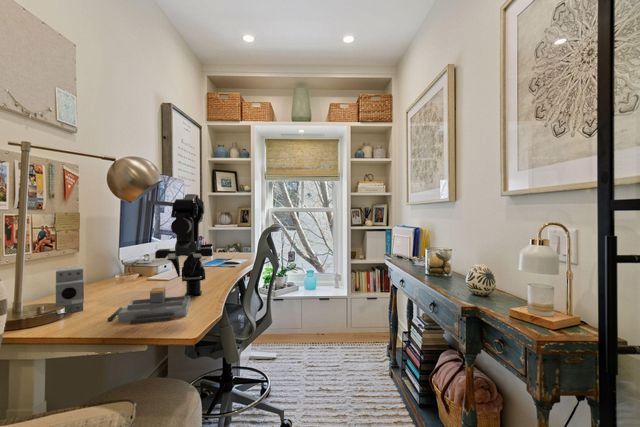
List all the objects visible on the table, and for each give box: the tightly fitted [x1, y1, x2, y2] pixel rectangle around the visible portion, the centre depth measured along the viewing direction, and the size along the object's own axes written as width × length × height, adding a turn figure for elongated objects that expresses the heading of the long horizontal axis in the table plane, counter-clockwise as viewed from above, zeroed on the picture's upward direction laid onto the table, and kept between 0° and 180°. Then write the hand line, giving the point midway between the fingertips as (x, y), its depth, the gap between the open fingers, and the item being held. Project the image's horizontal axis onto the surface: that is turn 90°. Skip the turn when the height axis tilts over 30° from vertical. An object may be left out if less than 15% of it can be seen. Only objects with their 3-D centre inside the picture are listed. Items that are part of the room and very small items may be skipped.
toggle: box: [149, 286, 166, 303], centre depth 110 cm, size 5×4×5 cm
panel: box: [117, 295, 191, 323], centre depth 110 cm, size 16×20×4 cm
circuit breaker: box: [55, 266, 85, 314], centre depth 111 cm, size 8×14×15 cm, turn 39°
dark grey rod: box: [107, 306, 124, 322], centre depth 107 cm, size 12×1×1 cm, turn 18°
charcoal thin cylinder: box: [129, 316, 173, 325], centre depth 100 cm, size 12×1×1 cm, turn 108°
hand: (185, 276), depth 113 cm, fingers open, 4 cm apart
